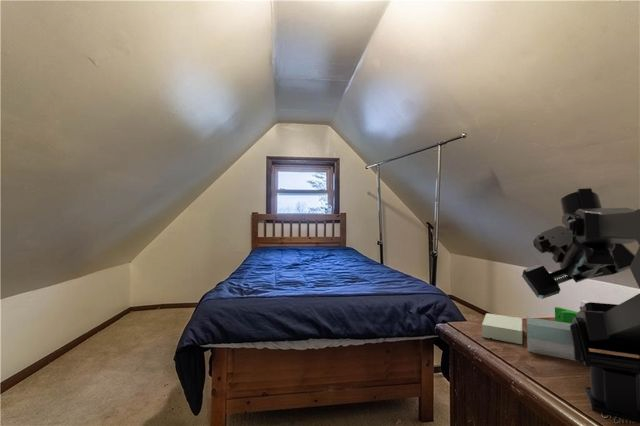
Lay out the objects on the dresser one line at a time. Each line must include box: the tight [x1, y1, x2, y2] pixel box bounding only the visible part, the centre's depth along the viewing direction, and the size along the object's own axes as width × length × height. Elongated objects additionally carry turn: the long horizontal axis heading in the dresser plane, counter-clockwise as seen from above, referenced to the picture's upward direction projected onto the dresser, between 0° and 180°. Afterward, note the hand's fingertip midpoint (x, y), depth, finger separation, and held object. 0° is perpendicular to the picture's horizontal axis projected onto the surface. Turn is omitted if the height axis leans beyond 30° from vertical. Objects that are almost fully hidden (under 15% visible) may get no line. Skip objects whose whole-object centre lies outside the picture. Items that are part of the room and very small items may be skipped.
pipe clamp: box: [554, 306, 579, 324], centre depth 75 cm, size 11×4×5 cm, turn 19°
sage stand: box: [481, 313, 523, 345], centre depth 75 cm, size 10×8×3 cm
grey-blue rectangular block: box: [526, 317, 577, 361], centre depth 65 cm, size 5×8×6 cm, turn 56°
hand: (567, 283), depth 68 cm, fingers open, 9 cm apart
